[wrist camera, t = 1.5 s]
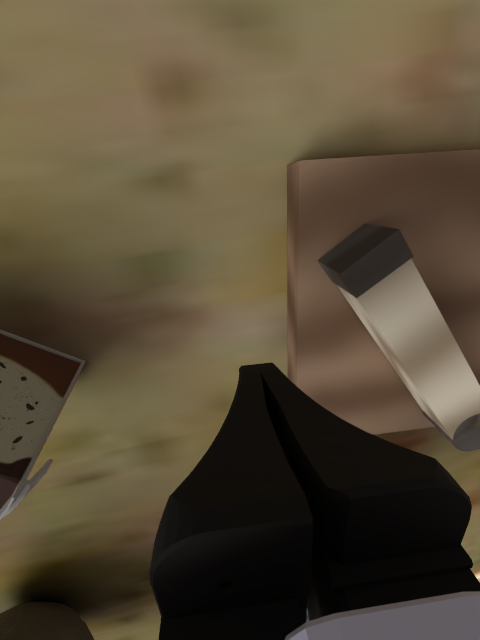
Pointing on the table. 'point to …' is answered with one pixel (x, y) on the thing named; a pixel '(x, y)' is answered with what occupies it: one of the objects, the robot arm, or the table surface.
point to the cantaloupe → (43, 623)
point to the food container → (28, 410)
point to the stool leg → (408, 328)
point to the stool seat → (429, 258)
